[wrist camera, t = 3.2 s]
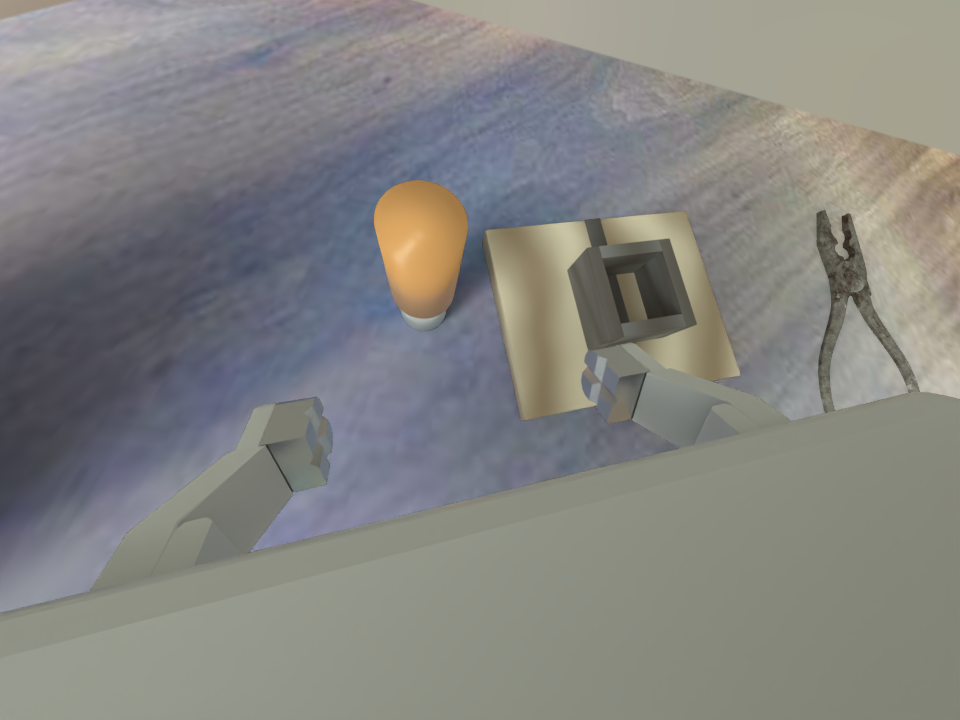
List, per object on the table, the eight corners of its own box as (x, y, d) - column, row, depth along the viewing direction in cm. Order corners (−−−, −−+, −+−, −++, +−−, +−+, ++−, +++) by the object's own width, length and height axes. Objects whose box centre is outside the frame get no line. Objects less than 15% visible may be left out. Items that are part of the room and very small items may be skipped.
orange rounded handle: (400, 339, 22) (381, 269, 12) (392, 288, 23) (367, 183, 13) (454, 331, 23) (476, 258, 13) (445, 281, 23) (458, 177, 14)
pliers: (847, 455, 25) (761, 215, 29) (833, 454, 26) (752, 221, 29) (940, 431, 27) (849, 208, 30) (924, 431, 28) (838, 214, 31)
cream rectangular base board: (521, 420, 22) (544, 418, 18) (482, 241, 24) (494, 201, 20) (722, 378, 25) (784, 367, 21) (671, 222, 27) (718, 183, 23)
